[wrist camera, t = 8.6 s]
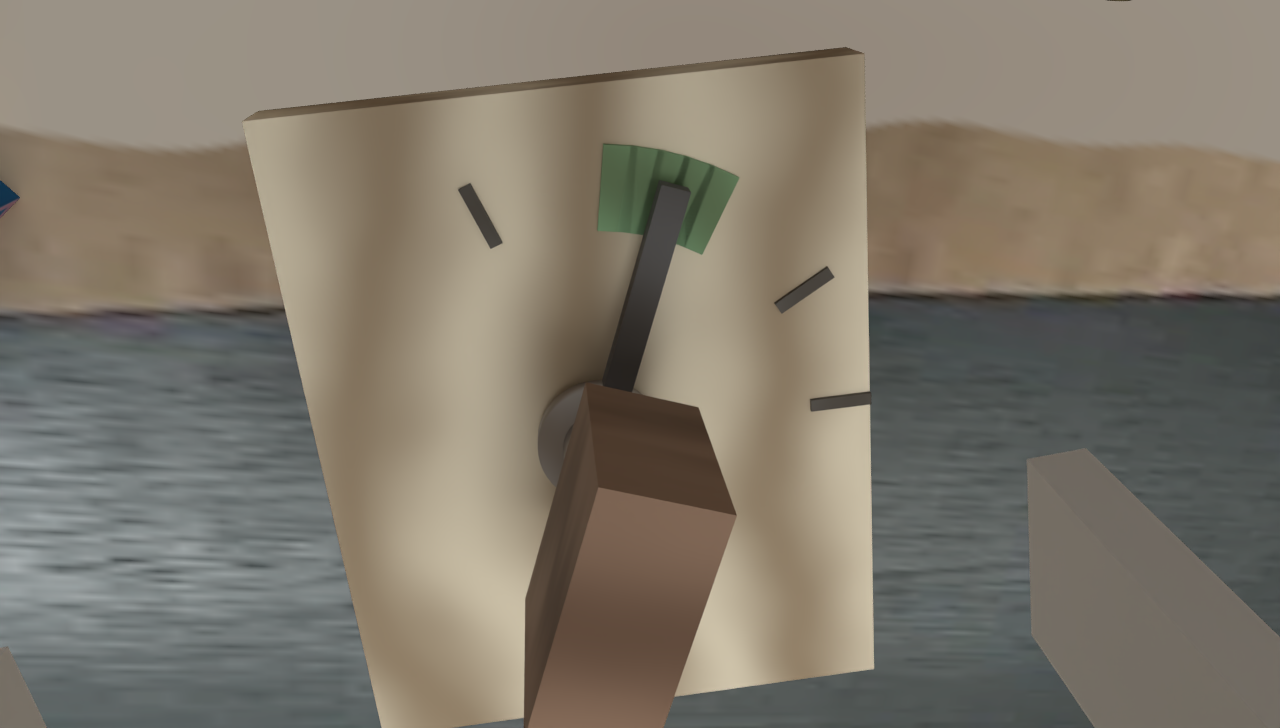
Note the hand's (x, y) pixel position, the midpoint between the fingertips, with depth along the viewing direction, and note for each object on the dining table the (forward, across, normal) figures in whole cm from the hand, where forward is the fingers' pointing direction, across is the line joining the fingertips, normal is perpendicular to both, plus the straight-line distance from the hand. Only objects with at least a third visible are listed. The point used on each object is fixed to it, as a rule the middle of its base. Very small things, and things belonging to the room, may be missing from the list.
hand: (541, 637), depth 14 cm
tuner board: (+22, 0, -7) cm, 23 cm away
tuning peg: (+20, +1, -5) cm, 20 cm away
